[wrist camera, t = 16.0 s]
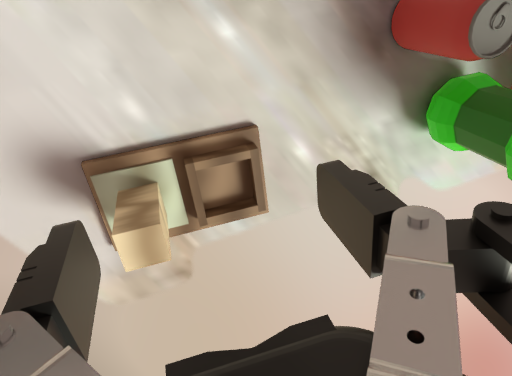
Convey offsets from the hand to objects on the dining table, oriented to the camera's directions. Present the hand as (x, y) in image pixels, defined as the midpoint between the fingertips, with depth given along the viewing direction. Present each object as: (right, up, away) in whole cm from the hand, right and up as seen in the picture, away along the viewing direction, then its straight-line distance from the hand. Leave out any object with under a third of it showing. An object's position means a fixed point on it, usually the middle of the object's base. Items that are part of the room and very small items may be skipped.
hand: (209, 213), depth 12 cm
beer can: (+20, +21, +31) cm, 42 cm away
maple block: (-12, -1, +31) cm, 33 cm away
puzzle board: (-7, +1, +32) cm, 33 cm away
